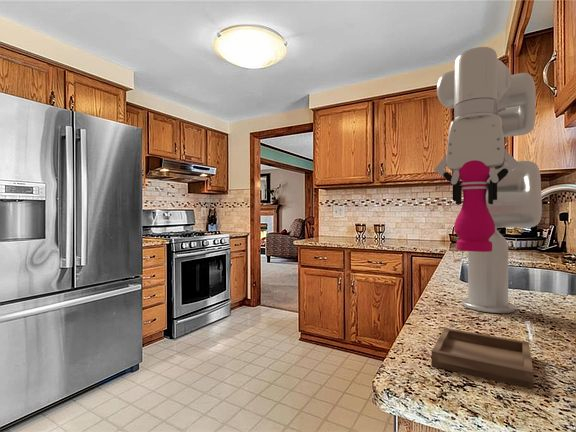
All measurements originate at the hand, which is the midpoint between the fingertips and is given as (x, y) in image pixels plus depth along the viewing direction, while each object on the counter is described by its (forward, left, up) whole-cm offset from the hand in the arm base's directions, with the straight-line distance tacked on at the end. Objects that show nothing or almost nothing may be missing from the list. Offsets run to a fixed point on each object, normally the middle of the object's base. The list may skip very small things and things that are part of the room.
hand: (474, 203), depth 68 cm
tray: (+9, +2, -28) cm, 29 cm away
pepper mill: (0, 0, -10) cm, 10 cm away
